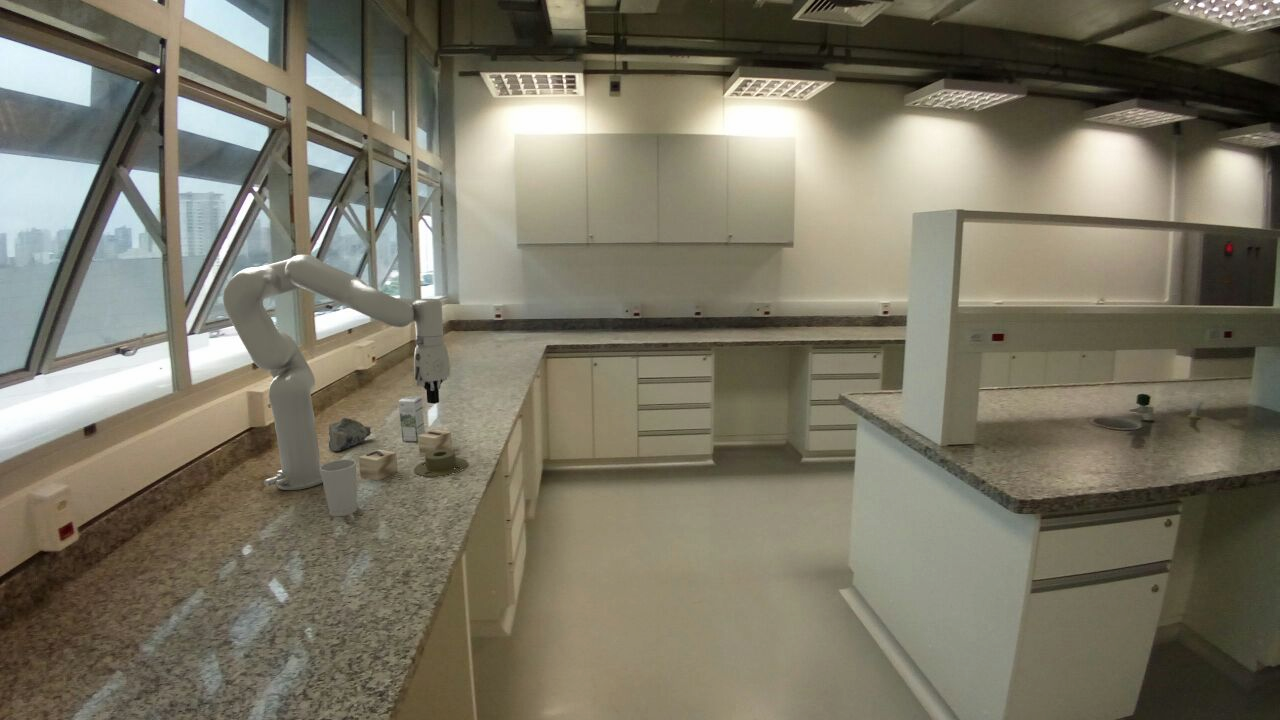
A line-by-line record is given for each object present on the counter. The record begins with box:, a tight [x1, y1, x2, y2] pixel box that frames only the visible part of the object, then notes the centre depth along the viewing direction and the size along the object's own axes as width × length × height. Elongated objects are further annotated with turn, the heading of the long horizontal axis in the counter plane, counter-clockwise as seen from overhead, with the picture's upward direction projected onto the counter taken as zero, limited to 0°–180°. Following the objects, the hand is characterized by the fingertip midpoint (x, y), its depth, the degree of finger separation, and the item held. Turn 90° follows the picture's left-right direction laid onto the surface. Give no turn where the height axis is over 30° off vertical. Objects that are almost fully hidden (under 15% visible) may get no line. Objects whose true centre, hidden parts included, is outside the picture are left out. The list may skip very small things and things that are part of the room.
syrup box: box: [398, 396, 426, 443], centre depth 199 cm, size 6×6×14 cm
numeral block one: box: [417, 429, 453, 455], centre depth 187 cm, size 7×7×6 cm
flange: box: [413, 449, 468, 478], centre depth 174 cm, size 5×15×15 cm
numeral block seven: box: [358, 448, 399, 481], centre depth 169 cm, size 7×7×6 cm
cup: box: [320, 458, 358, 517], centre depth 145 cm, size 8×8×12 cm
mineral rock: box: [328, 417, 372, 452], centre depth 194 cm, size 13×11×10 cm
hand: (433, 402), depth 174 cm, fingers closed
